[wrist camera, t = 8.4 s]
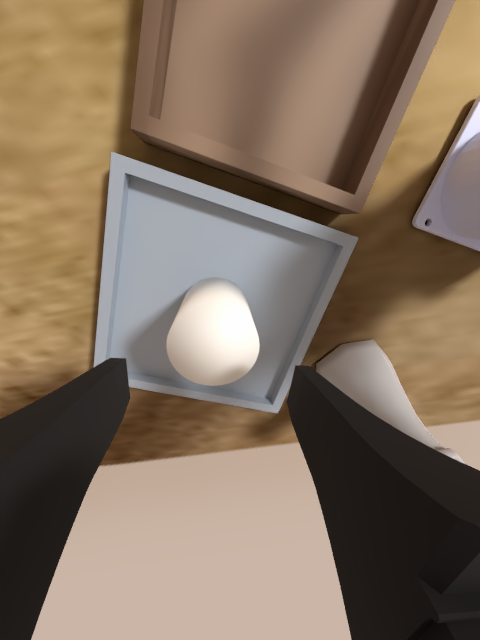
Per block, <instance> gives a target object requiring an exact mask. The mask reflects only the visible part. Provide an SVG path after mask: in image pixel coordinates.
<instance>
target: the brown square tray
mask: <svg viewBox="0 0 480 640" xmlns="http://www.w3.org/2000/svg"><path fill="white" fill-rule="evenodd" d="M454 2H455V0H144V4H143V13H142V23H141V32H140V42H139V51H138V61H137V70H136V80H135V89H134V99H133V108H132V118H131V127H130V128H131V129H132V130H133V131H134V132H135V133H136V134H137V135H138V136H139V137H140V138H141V139H142V140H143V142H144V143H147V144H150V145H152V146H155V147H158V148H161V149H163V150H166V151H169V152H172V153H174V154H177V155H180V156H183V157H185V158H188V159H191V160H194V161H196V162H199V163H202V164H205V165H207V166H210V167H213V168H216V169H218V170H221V171H224V172H227V173H229V174H232V175H235V176H238V177H240V178H243V179H246V180H248V181H251V182H254V183H257V184H259V185H262V186H265V187H268V188H270V189H273V190H276V191H279V192H281V193H284V194H287V195H290V196H292V197H295V198H298V199H301V200H303V201H306V202H309V203H312V204H314V205H317V206H320V207H323V208H325V209H328V210H331V211H334V212H336V213H339V214H357V213H360V212H361V210H362V208H363V206H364V203H365V201H366V199H367V197H368V194H369V192H370V190H371V188H372V185H373V183H374V181H375V179H376V176H377V174H378V172H379V170H380V167H381V165H382V163H383V161H384V159H385V156H386V154H387V152H388V150H389V147H390V145H391V143H392V141H393V138H394V136H395V134H396V132H397V129H398V127H399V125H400V123H401V121H402V118H403V116H404V114H405V112H406V109H407V107H408V105H409V103H410V100H411V98H412V96H413V94H414V91H415V89H416V87H417V85H418V82H419V80H420V78H421V76H422V74H423V71H424V69H425V67H426V65H427V62H428V60H429V58H430V56H431V53H432V51H433V49H434V47H435V44H436V42H437V40H438V38H439V36H440V33H441V31H442V29H443V27H444V24H445V22H446V20H447V18H448V15H449V13H450V11H451V9H452V6H453V4H454Z"/></svg>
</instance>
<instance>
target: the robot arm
mask: <svg viewBox="0 0 480 640" xmlns="http://www.w3.org/2000/svg"><path fill="white" fill-rule="evenodd" d="M426 220H427V221H428V222H427V224H426V225H425V221H426ZM412 224H413V226H414V227H415V228H418V229H421V230H423V231H426V232H429V233H431V234H434V235H437V236H439V237H442V238H445V239H447V240H450V241H453V242H455V243H458V244H461V245H463V246H466V247H469V248H471V249H474V250H476V251H479V252H480V95H479V96H478V97H477V99H476V100H475V102H474V104H473V106H472V108H471V110H470V112H469V113H468V115H467V117H466V119H465V121H464V123H463V125H462V127H461V129H460V131H459V132H458V134H457V136H456V138H455V140H454V142H453V144H452V146H451V148H450V150H449V151H448V153H447V155H446V157H445V159H444V161H443V163H442V165H441V167H440V168H439V170H438V172H437V174H436V176H435V178H434V180H433V182H432V184H431V186H430V187H429V189H428V191H427V193H426V195H425V197H424V199H423V201H422V203H421V205H420V206H419V208H418V210H417V212H416V214H415V216H414V218H413V220H412ZM129 400H130V392H129V382H128V372H127V362H126V358H109V359H107V360H105V361H104V362H102V363H100V364H99V365H97V366H95V367H94V368H92V369H90V370H89V371H87V372H86V373H84V374H82V375H81V376H79V377H77V378H76V379H74V380H72V381H71V382H69V383H67V384H66V385H64V386H62V387H60V388H59V389H57V390H55V391H53V392H52V393H50V394H48V395H46V396H44V397H43V398H41V399H39V400H37V401H35V402H34V403H32V404H30V405H28V406H26V407H24V408H22V409H20V410H18V411H16V412H14V413H12V414H10V415H8V416H6V417H4V418H2V419H0V640H31V638H32V635H33V632H34V629H35V626H36V623H37V620H38V617H39V615H40V611H41V609H42V606H43V603H44V601H45V598H46V595H47V592H48V589H49V586H50V584H51V581H52V578H53V576H54V573H55V570H56V567H57V565H58V562H59V559H60V557H61V554H62V552H63V549H64V546H65V544H66V541H67V539H68V536H69V533H70V531H71V528H72V526H73V523H74V521H75V518H76V516H77V513H78V511H79V508H80V506H81V503H82V501H83V498H84V496H85V494H86V491H87V489H88V487H89V485H90V483H91V481H92V478H93V476H94V474H95V473H96V471H97V469H98V467H99V465H100V463H101V461H102V459H103V457H104V455H105V453H106V451H107V449H108V447H109V445H110V443H111V441H112V440H113V438H114V436H115V434H116V432H117V430H118V428H119V426H120V424H121V422H122V419H123V417H124V414H125V411H126V408H127V405H128V403H129ZM287 403H288V408H289V413H290V417H291V421H292V424H293V427H294V430H295V433H296V435H297V438H298V441H299V443H300V446H301V449H302V451H303V454H304V457H305V459H306V462H307V465H308V467H309V470H310V472H311V475H312V478H313V481H314V484H315V487H316V490H317V494H318V498H319V502H320V505H321V509H322V513H323V516H324V520H325V524H326V528H327V532H328V536H329V539H330V543H331V548H332V552H333V556H334V560H335V565H336V569H337V573H338V577H339V582H340V586H341V591H342V595H343V600H344V605H345V610H346V615H347V619H348V624H349V628H350V634H351V639H352V640H480V471H479V470H477V469H475V468H472V467H470V466H468V465H466V464H464V463H462V462H459V461H457V460H455V459H453V458H451V457H449V456H447V455H445V454H443V453H441V452H439V451H437V450H435V449H433V448H431V447H429V446H427V445H425V444H423V443H422V442H420V441H418V440H416V439H414V438H412V437H410V436H409V435H407V434H405V433H403V432H402V431H400V430H398V429H397V428H395V427H393V426H392V425H390V424H388V423H387V422H385V421H383V420H382V419H380V418H379V417H377V416H376V415H374V414H373V413H371V412H370V411H368V410H367V409H365V408H364V407H362V406H361V405H360V404H358V403H357V402H355V401H354V400H353V399H351V398H350V397H349V396H347V395H346V394H345V393H343V392H342V391H341V390H339V389H338V388H337V387H336V386H334V385H333V384H332V383H330V382H329V381H328V380H327V379H325V378H324V377H323V376H322V375H320V374H319V373H318V372H316V371H315V370H314V369H312V368H311V367H309V366H299V365H295V369H294V373H293V378H292V382H291V387H290V391H289V395H288V400H287Z"/></svg>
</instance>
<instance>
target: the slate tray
mask: <svg viewBox="0 0 480 640" xmlns="http://www.w3.org/2000/svg"><path fill="white" fill-rule="evenodd" d="M358 239H359V238H358V237H355V236H352V235H349V234H347V233H344V232H341V231H338V230H335V229H332V228H329V227H327V226H324V225H321V224H318V223H315V222H312V221H309V220H306V219H304V218H301V217H298V216H295V215H292V214H289V213H286V212H284V211H281V210H278V209H275V208H272V207H269V206H266V205H263V204H261V203H258V202H255V201H252V200H249V199H246V198H243V197H241V196H238V195H235V194H232V193H229V192H226V191H223V190H220V189H218V188H215V187H212V186H209V185H206V184H203V183H200V182H197V181H195V180H192V179H189V178H186V177H183V176H180V175H177V174H175V173H172V172H169V171H166V170H163V169H160V168H157V167H154V166H152V165H149V164H146V163H143V162H140V161H137V160H134V159H132V158H129V157H126V156H123V155H120V154H117V153H114V152H112V153H111V164H110V176H109V188H108V200H107V212H106V224H105V236H104V248H103V260H102V272H101V284H100V296H99V308H98V320H97V332H96V344H95V356H94V367H95V366H97V365H99V364H100V363H102V362H104V361H105V360H107V359H109V358H126V362H127V372H128V382H129V387H132V388H137V389H143V390H148V391H154V392H160V393H165V394H171V395H177V396H182V397H188V398H194V399H199V400H205V401H211V402H216V403H222V404H227V405H233V406H239V407H244V408H250V409H256V410H261V411H267V412H273V413H278V412H279V410H280V408H281V405H282V403H283V401H284V399H285V397H286V395H287V392H288V390H289V388H290V386H291V382H292V378H293V373H294V369H295V365H299V366H300V364H301V362H302V360H303V358H304V356H305V353H306V351H307V349H308V347H309V345H310V343H311V340H312V338H313V336H314V334H315V332H316V330H317V327H318V325H319V323H320V321H321V319H322V317H323V314H324V312H325V310H326V308H327V306H328V304H329V301H330V299H331V297H332V295H333V293H334V291H335V288H336V286H337V284H338V282H339V280H340V278H341V275H342V273H343V271H344V269H345V267H346V265H347V262H348V260H349V258H350V256H351V254H352V252H353V249H354V247H355V245H356V243H357V241H358ZM212 277H218V278H224V279H227V280H229V281H231V282H233V283H235V284H236V285H237V286H238V287H239V288H240V289H241V290H242V291H243V293H244V295H245V297H246V300H247V303H248V306H249V309H250V312H251V315H252V318H253V321H254V324H255V327H256V330H257V333H258V337H259V344H260V347H259V354H258V357H257V360H256V362H255V364H254V365H253V367H252V368H251V369H250V370H249V371H248V372H247V373H246V374H245V375H244V376H243V377H241V378H240V379H238V380H236V381H234V382H231V383H229V384H225V385H219V386H207V385H201V384H198V383H194V382H192V381H190V380H188V379H186V378H185V377H183V376H182V375H181V374H180V373H178V372H177V371H176V369H175V368H174V367H173V365H172V364H171V362H170V360H169V357H168V354H167V348H166V343H167V336H168V333H169V331H170V328H171V326H172V324H173V322H174V319H175V317H176V315H177V313H178V311H179V308H180V306H181V304H182V302H183V299H184V297H185V295H186V293H187V292H188V290H189V289H190V288H191V287H192V286H193V285H194V284H195V283H197V282H199V281H200V280H203V279H206V278H212Z"/></svg>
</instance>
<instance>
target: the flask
mask: <svg viewBox="0 0 480 640" xmlns="http://www.w3.org/2000/svg"><path fill="white" fill-rule="evenodd" d="M316 372H318V373H319V374H320V375H322V376H323V377H324V378H325V379H327V380H328V381H329V382H330V383H332V384H333V385H334V386H336V387H337V388H338V389H339V390H341V391H342V392H343V393H345V394H346V395H347V396H349V397H350V398H351V399H353V400H354V401H355V402H357V403H358V404H360V405H361V406H362V407H364V408H365V409H367V410H368V411H370V412H371V413H373V414H374V415H376V416H377V417H379V418H380V419H382V420H383V421H385V422H387V423H388V424H390V425H392V426H393V427H395V428H397V429H398V430H400V431H402V432H403V433H405V434H407V435H409V436H410V437H412V438H414V439H416V440H418V441H420V442H422V443H423V444H425V445H427V446H429V447H431V448H433V449H435V450H437V451H439V452H441V453H443V454H445V455H447V456H449V457H451V458H453V459H455V460H457V461H459V462H462V463H464V462H463V461H462V459H461V458H460V457H459V456H458V455H457V454H456V453H455V452H454V451H453V450H451V449H449V448H446V449H445V448H444V447H442V446H441V445H440V444H439V443H438V442H437V441H436V440H435V439H434V438H433V437H432V435H430V433H429V432H428V430H427V429H426V428H425V426H424V425H423V423H422V422H421V421H420V419H419V418H418V416H417V415H416V413H415V411H414V409H413V407H412V406H411V404H410V402H409V400H408V398H407V396H406V394H405V392H404V390H403V388H402V386H401V384H400V381H399V379H398V377H397V375H396V372H395V370H394V368H393V366H392V364H391V362H390V360H389V358H388V357H387V356H386V354H385V353H384V352H383V351H382V349H381V348H380V347H379V346H378V344H377V343H376V342H375V341H374V340H373V339H372V340H366V341H359V342H352V343H345V344H341V345H340V346H339V347H337V348H336V349H335V350H333V351H332V352H331V353H330V354H328V355H327V356H326V357H324V358H323V359H322V360H321V361H319V362H318V363H317V364H316ZM464 464H465V463H464Z"/></svg>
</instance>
